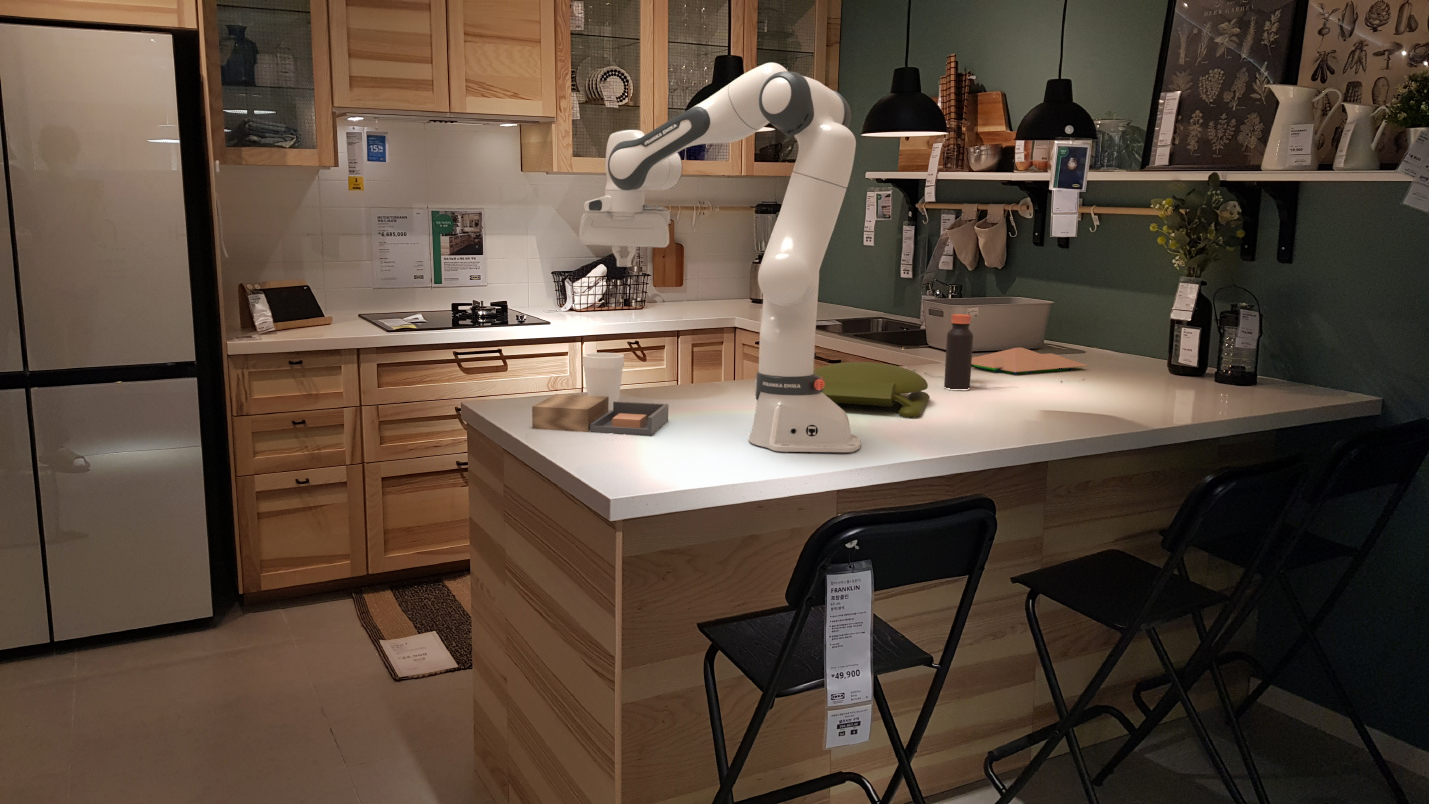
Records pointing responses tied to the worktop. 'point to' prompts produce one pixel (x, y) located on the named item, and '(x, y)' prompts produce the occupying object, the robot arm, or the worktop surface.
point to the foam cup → (603, 375)
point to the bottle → (959, 353)
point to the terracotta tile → (629, 420)
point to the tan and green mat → (1023, 361)
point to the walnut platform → (569, 412)
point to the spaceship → (874, 385)
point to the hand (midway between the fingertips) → (623, 266)
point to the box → (654, 412)
